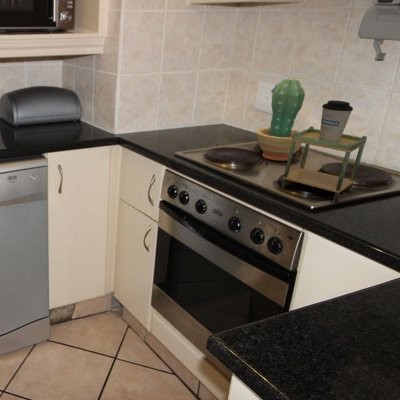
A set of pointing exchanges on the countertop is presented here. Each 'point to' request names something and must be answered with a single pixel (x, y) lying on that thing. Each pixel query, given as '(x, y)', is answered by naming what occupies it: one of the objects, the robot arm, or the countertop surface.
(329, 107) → the coffee cup
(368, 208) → the countertop surface
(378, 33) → the robot arm
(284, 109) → the potted cactus
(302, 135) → the shelf rack
